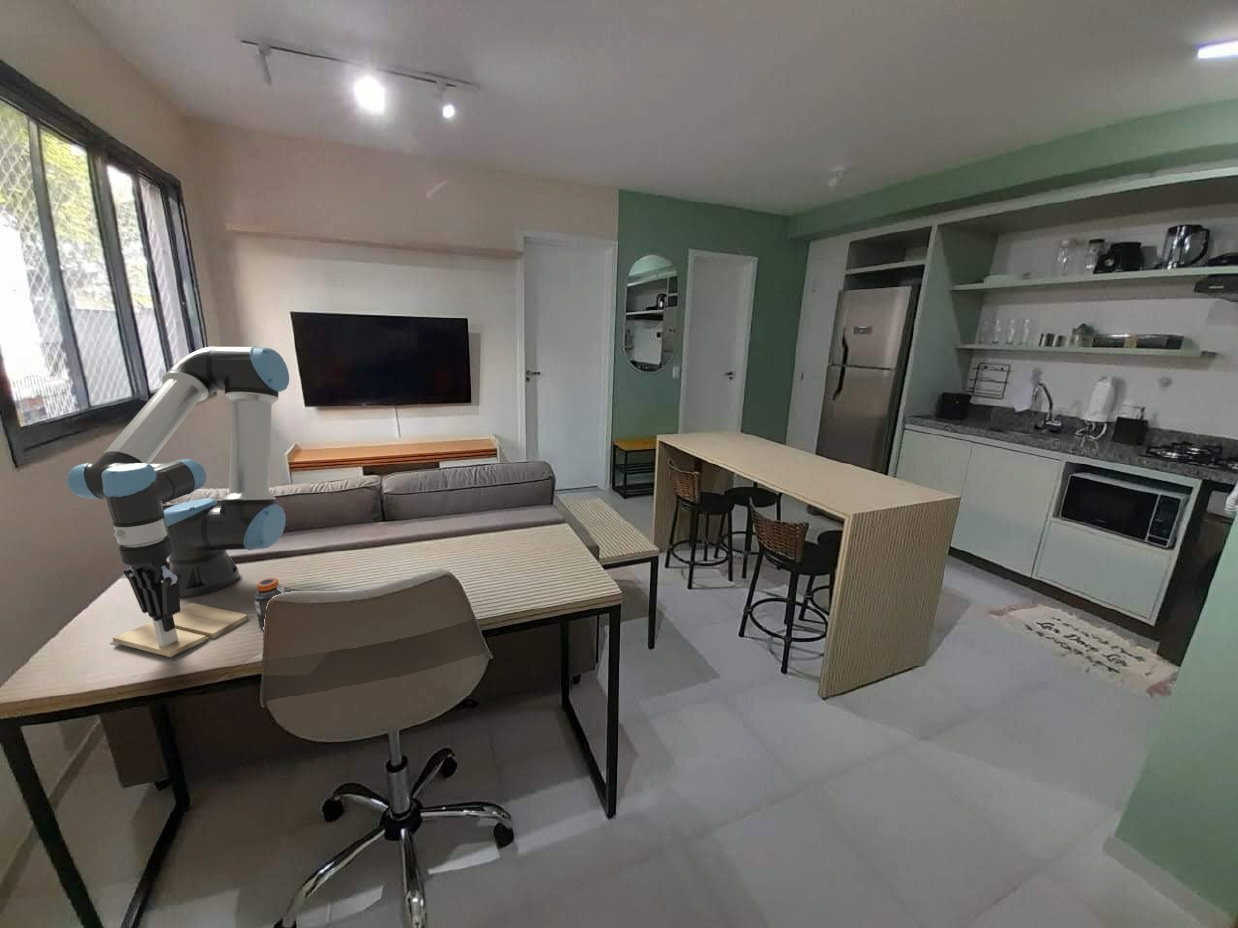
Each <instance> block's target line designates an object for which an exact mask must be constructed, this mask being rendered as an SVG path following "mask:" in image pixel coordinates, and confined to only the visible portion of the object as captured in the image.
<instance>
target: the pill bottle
mask: <svg viewBox="0 0 1238 928" xmlns="http://www.w3.org/2000/svg"><path fill="white" fill-rule="evenodd" d="M256 588H257V590H256V591H255V593H254V594H253V599H254V601H253V602H254V605H255V610H256V616H257V621H258V626H259V629H260V630H261V631H263V627H264V619H265V614H266V606H267V603H268V601H269V600H270V599H271V598H272V597H273V596H275V595H278V594H281V593H285V594H286V591H285V587H283V586H282V585H280V584H279V579H278V578H275V577H269V578H264V579H262V580H261V579H260V581H258V582H257V583H256Z"/></svg>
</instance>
